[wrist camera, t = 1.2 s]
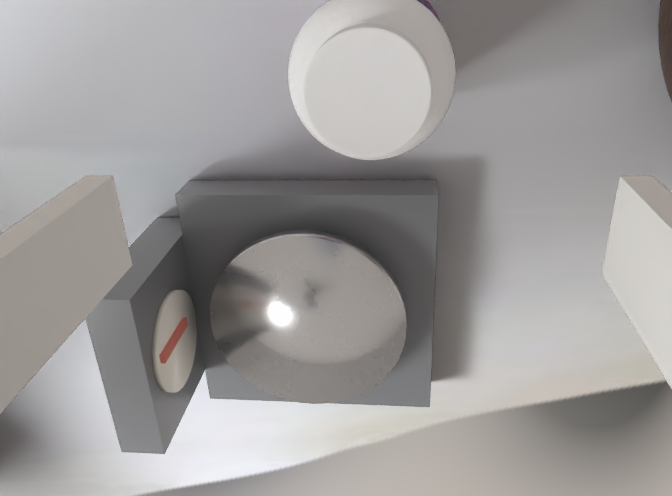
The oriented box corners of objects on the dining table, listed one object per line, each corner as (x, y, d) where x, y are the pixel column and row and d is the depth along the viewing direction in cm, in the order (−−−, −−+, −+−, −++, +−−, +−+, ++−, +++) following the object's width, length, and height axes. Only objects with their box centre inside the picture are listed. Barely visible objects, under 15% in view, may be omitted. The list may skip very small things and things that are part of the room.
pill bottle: (369, -52, 35) (350, -57, 22) (469, 34, 37) (505, 76, 24) (292, 58, 38) (237, 109, 26) (387, 133, 40) (380, 216, 27)
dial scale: (187, 374, 51) (130, 483, 40) (150, 180, 43) (67, 252, 33) (428, 382, 49) (435, 501, 38) (436, 179, 41) (448, 257, 30)
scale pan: (230, 381, 47) (222, 399, 45) (206, 222, 41) (196, 236, 39) (404, 387, 45) (404, 407, 43) (407, 224, 39) (408, 237, 37)
